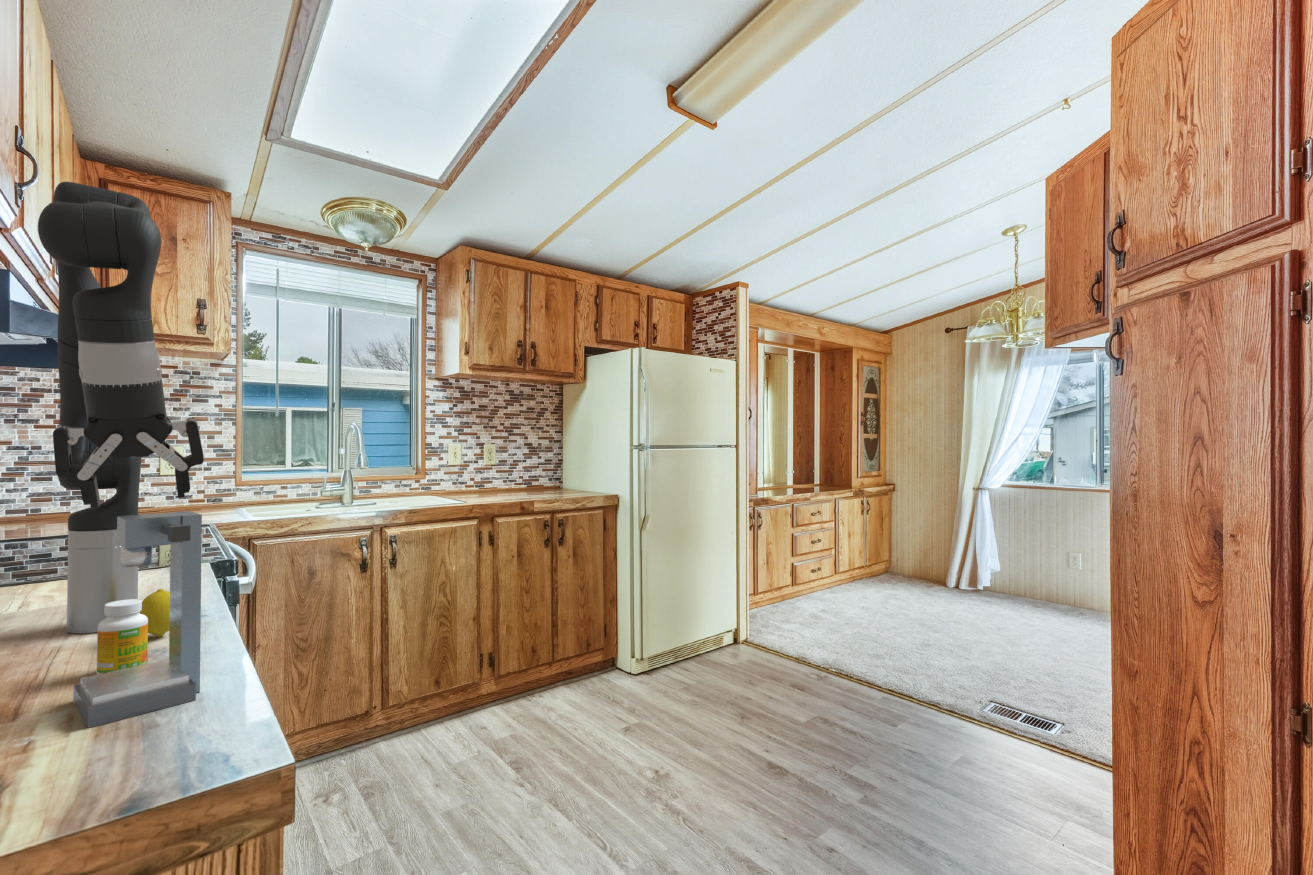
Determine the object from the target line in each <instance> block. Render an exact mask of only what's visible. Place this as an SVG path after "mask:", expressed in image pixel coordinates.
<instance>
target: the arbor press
mask: <svg viewBox="0 0 1313 875" xmlns="http://www.w3.org/2000/svg"><path fill="white" fill-rule="evenodd" d="M202 517H203V515H202V514H201V513H197V512H194V511H190V510H189V511H188V510H187V511H186V510H185V511H184V510H183V511H174V512H172V511H171V512H161V513H160V512H159V513H147V514H146V513H145V514H138V515H130V516H117V544H118V545H120V546H121V567H137V566H138V567H144V566H150V565H152V563H153V546H154V547H155V546H156V547H157V546H165V545H166V546H167V545H170V546H169V547H170V549H169V550H170V555H169V556H170V557H169V558H170V559H169V592H170V628H169V631H168V632H169V634H168V636H169V638H168V640H169V644H168V647H169V648H168V649H169V650H168V652H169V653H168V659H164V660H157V661H155V662H149V663H147V664H144V665H139V666H135V667H130V668H125V669H121V670H116V671H111V672H107V673H102V674H97V673H96V674H94V675H90V676H89V675H88V676H83V677H80V678H79V679H80V680H79V682H80V683H78V684H74V685H73V688H72V690H73V697H72V700H73V703H74V706H75V707H76V709H77V711H78V713H79V715H80V716H81V718H82V720H83V722H84V724H85V726H86V727H87V729H89V728H95V727H99V726H101V725H105V724H106V725H107V724H109V723H113V722H117V721H120V720H125V719H128V718H133V717H136V716H140V715H144V714H147V713H152V712H155V711H159V710H162V709H163V710H164V709H166V708H169V707H174V706H179V705H181V704H182V705H183V704H185V703H190V702H193V701H196V700H197V694H198V693H197V692H199V693H200V692H201V628H202V627H201V624H202V623H201V619H202V618H201V617H202V616H201V614H202V611H201V610H202V605H201V604H202V537H203V536H202V531H203V529H202V526H203V525H202V524H203V523H202V522H203V518H202Z"/></svg>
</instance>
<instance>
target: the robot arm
mask: <svg viewBox="0 0 1313 875" xmlns="http://www.w3.org/2000/svg"><path fill="white" fill-rule="evenodd" d="M37 234H38V238H39V240H40V243H41V245H42V246H43V248H44V250H45V251H46V252H47V254H48V255H50V257H51V258H52V259H55V261H56V263H57V264H56V265H57V276H58V277H57V278H58V313H57V314H58V316H57V362H58V364H57V365H58V379H59V381H58V382H59V397H60V398H59V400H60V401H59V404H60V406H59V422H58V425H57V426H55V428H54V430H53V431H52V443H53V444H52V445H53V452H54V455H53V456H54V464H55V466H54V468H55V474H56V476H57V478H58V482H59V484H60V485H61V486H62V487H63V488H64V489H66V490H71V491H72V490H74V491H75V490H76V491H77V490H79V491H80V494H81V499H82V500H81V501H82V502H83V504H84V505H90V507H87V508H83V509H80V510H76V511H74V512H73V513H70V515H69V516H68V518H67V584H66V585H67V586H66V587H67V588H66V589H67V590H66V595H67V596H66V599H67V600H66V632H68V633H71V634H90V633H91V634H92V633H97V631H98V624H99V623H100V622H101V621H102V620H104V619H106V618H107V616H105V615H104V614H105V613H104V608H105V604H107V603H110V602H114V601H120V600H128V599H139V566H137V567H121V546H120V545H118V544H117V516H130V515H139V492H140V479H141V470H142V458H145V457H150V456H152V455H153V454H155V455H157V457H159V458H161V459H162V460H164V461H165V462H166V463H168V464H170V465H171V466H172V467H173V468H174V476H175V485H176V493H177V498H178V499H179V498H185V497H186V495H185V493H190V490H191V480H190V472H189V471H190V469H191V468H192V467H195V466H198V465H199V466H201V465H203V464H204V463H205V458H204V451H203V446H202V445H203V444H202V441H201V434H200V430H199V425H198V420H197V419H196V418H195V417H188V418H186V420H177V421H171V420H170V419H169V417H168V415H167V411H166V409H167V408H166V400H165V395H164V393H165V392H164V385H163V377H162V375H163V372H162V368H161V367H162V366H161V360H160V356H159V352H158V349H157V346H156V341H155V333H154V324H153V314H152V290H153V285H154V278H155V274H156V271H157V270H156V269H157V266H158V262H159V258H160V254H161V250H162V235H161V231H160V229H159V226H158V225H157V224H156V222H155V221H154V219H152V215H151V211H150V208H149V207H148V205H147V203H146V202H144V201H143V199H140V198H139V197H138V196H134V195H132V194H129V193H126V192H122V191H116V190H111V189H107V188H103V187H98V186H93V185H92V186H91V185H88V184H84V183H80V182H79V183H78V182H72V181H61V182H60V183H58V184H57V186H55V189H54V193H53V200H52V202H50V203H49V204H47V205H46V206H44V208H43V209H42V211H41V212H40V215H39V217H38V222H37ZM91 268H94V269H109V270H112V269H113V270H124V271H127V274H126V278H125V279H124V280H123V281H122V282H120V283H118V284H116V285H111V286H107V287H105V286H104V287H101V284H100V283H99V282H98V280H97V279H96V277H95V275H94V273H93V272H92V270H91ZM173 431H177V432H178V433H179V435H180V436H181V437H183V438H187V439H188V444H189V450H190V454H189V455H186V456H184V455H183V454H181V453H180V452H179V451H177V450H176V449H175V447H174V446H172V445H171V444H170V443H169V442H167V441H166V440H167V439H168V438H169V436H170V435H171V434H172V433H173ZM107 489H109V490H111V489H115V490H116V493H115V494H114V495H113V496H111V497H110V498H108V499H107V500H105V501H103V502H101V498H100V493H99V490H107Z"/></svg>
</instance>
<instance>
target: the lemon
mask: <svg viewBox="0 0 1313 875" xmlns="http://www.w3.org/2000/svg"><path fill="white" fill-rule="evenodd" d="M140 614H143V615H145V616H146V617H147V618H148V634H150V635H154V636H155V637H156V638H161V637H164V635H165V634H166V633H168V632H169V628H170V590H169V591H168V590H165V589H164V588H160V589H159V588H158V589H157V590H156V591H154V592H152V593H150V594H148V595H147V596H146V597H145V598H144V599H143V600H142V610H141V611H140Z"/></svg>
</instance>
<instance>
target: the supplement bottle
mask: <svg viewBox="0 0 1313 875" xmlns="http://www.w3.org/2000/svg"><path fill="white" fill-rule="evenodd" d="M142 602H143V600H141V599H139V598H138V599H128V600H120V601H114V602H110V603H107V604H105V608H104V613H105V614H104V615H105V616H107V618H106V619H104V620H102V621H101V622H100V623H99V624H98V631H97V632H96V633H97V641H96V642H97V643H96V644H97V646H96V649H97V650H96V652H97V653H96V675H97V674H102V673H107V672H111V671H116V670H121V669H125V668H130V667H135V666H139V665H144V664H148V655H149V654H148V653H149V652H148V648H149V647H148V645H149V644H148V643H149V642H148V641H149V639H148V638H149V633H148V618H147V617H146V616H145V615H143V614H140V611H141V610H142Z"/></svg>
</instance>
